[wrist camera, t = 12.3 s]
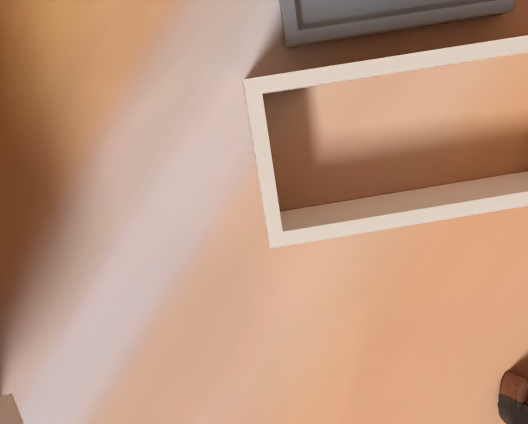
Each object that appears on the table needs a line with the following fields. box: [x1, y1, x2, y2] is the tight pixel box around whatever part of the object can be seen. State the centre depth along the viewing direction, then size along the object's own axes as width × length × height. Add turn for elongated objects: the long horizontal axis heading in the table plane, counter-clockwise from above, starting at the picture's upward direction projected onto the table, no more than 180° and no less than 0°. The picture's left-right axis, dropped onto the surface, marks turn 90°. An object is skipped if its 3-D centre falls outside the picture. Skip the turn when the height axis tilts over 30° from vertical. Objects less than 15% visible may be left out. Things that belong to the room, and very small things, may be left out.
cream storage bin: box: [242, 35, 528, 248], centre depth 32 cm, size 23×11×6 cm, turn 99°
